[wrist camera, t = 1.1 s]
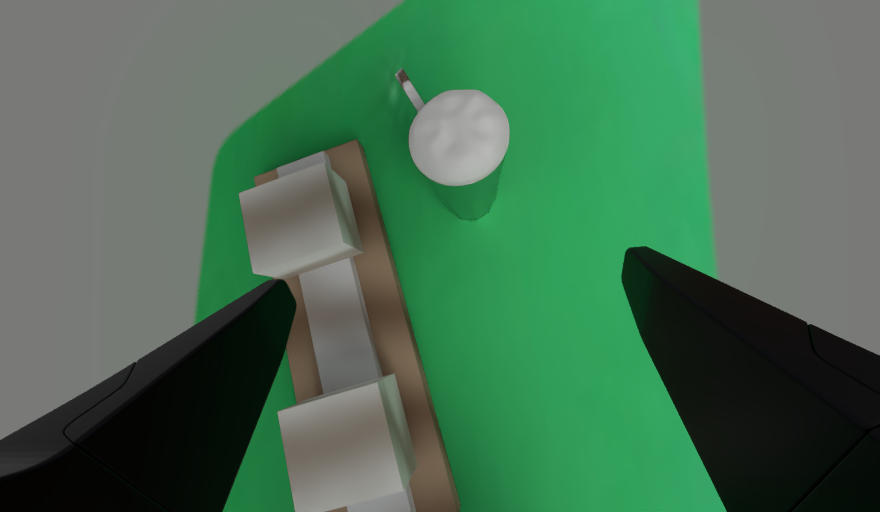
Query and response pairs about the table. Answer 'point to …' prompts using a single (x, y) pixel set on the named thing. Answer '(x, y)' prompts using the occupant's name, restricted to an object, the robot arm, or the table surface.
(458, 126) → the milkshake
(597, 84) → the table surface
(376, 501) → the wooden board with pads
